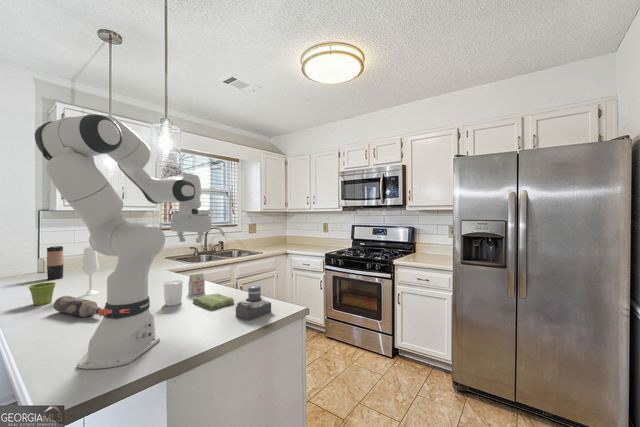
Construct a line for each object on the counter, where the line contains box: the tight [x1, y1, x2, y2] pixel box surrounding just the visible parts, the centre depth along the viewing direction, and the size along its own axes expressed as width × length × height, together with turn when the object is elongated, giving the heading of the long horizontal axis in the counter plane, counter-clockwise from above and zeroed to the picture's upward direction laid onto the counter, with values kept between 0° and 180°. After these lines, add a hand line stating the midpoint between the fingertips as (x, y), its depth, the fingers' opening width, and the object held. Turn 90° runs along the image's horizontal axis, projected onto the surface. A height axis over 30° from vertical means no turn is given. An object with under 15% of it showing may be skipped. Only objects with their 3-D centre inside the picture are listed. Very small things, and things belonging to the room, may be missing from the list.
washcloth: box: [192, 293, 235, 311], centre depth 134 cm, size 13×18×3 cm
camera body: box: [235, 296, 272, 322], centre depth 120 cm, size 12×8×6 cm
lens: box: [247, 285, 262, 302], centre depth 120 cm, size 5×5×7 cm
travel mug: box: [46, 245, 64, 281], centre depth 182 cm, size 8×8×20 cm
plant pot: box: [27, 281, 57, 306], centre depth 134 cm, size 9×9×9 cm
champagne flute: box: [81, 246, 100, 297], centre depth 149 cm, size 7×7×24 cm
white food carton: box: [187, 272, 206, 296], centre depth 150 cm, size 4×7×10 cm, turn 138°
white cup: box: [162, 279, 183, 307], centre depth 133 cm, size 8×8×10 cm
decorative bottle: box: [53, 295, 103, 318], centre depth 119 cm, size 26×8×7 cm, turn 67°
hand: (190, 242), depth 126 cm, fingers open, 8 cm apart
